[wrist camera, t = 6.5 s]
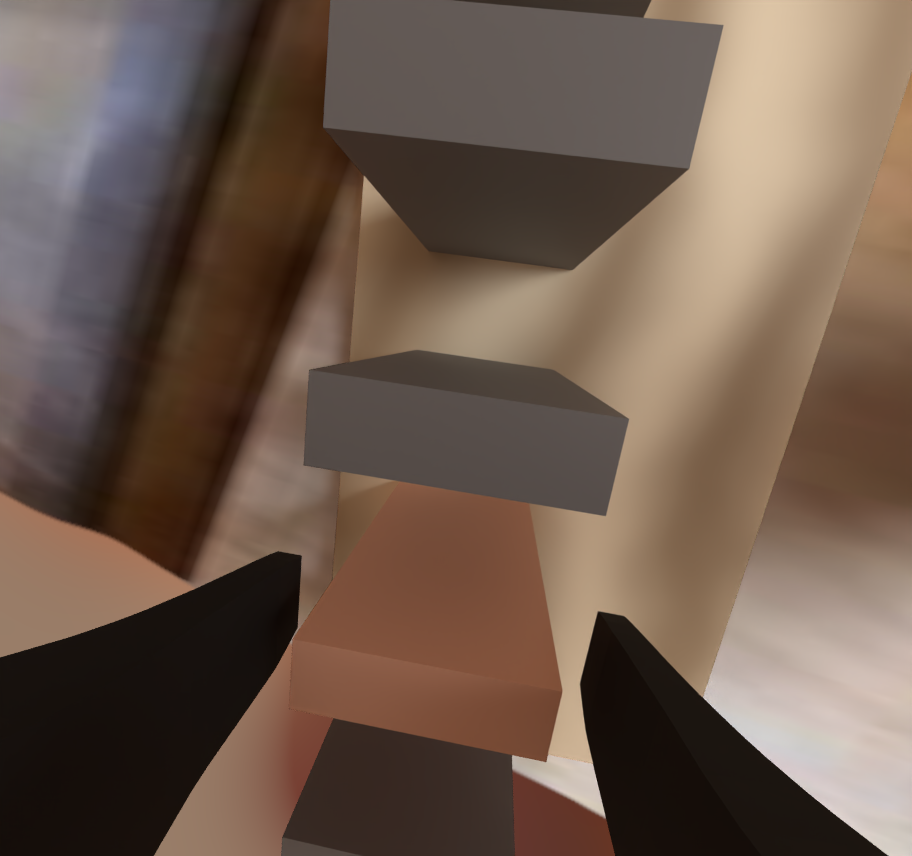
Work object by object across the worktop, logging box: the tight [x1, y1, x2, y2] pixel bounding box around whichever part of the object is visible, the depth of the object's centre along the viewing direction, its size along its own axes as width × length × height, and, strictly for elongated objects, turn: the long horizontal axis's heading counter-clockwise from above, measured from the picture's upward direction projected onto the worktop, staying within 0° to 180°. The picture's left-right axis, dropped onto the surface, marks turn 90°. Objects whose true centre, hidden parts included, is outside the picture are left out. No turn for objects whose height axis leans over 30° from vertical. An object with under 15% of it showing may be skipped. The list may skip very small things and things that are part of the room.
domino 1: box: [323, 0, 724, 270], centre depth 10 cm, size 2×5×9 cm, turn 82°
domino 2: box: [304, 350, 629, 516], centre depth 11 cm, size 2×5×9 cm, turn 82°
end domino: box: [281, 718, 515, 856], centre depth 13 cm, size 2×5×9 cm, turn 82°
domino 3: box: [289, 481, 563, 762], centre depth 12 cm, size 2×5×9 cm, turn 82°
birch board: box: [332, 0, 912, 764], centre depth 16 cm, size 16×30×1 cm, turn 172°
